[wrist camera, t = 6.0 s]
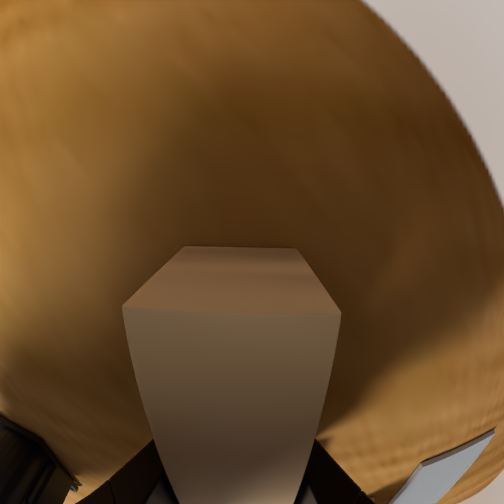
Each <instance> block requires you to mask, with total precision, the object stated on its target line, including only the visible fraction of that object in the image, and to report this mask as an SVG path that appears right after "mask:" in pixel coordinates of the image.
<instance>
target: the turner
mask: <svg viewBox="0 0 504 504" xmlns="http://www.w3.org/2000/svg"><path fill="white" fill-rule="evenodd" d="M122 313H123V319H124V325H125V330H126V336H127V341H128V346H129V351H130V355H131V360H132V364H133V369H134V373H135V377H136V381H137V385H138V389H139V393H140V396H141V400H142V404H143V407H144V410H145V414H146V417H147V420H148V424H149V427H150V430H151V433H152V436H153V439H154V442H155V445H156V447H157V450H158V453H159V456H160V458H161V461H162V464H163V466H164V469H165V471H166V474H167V476H168V479H169V481H170V483H171V486H172V488H173V490H174V492H175V495H176V497H177V499H178V501H179V503H180V504H293V503H294V501H295V498H296V495H297V493H298V490H299V487H300V484H301V481H302V478H303V475H304V472H305V469H306V466H307V463H308V460H309V456H310V453H311V450H312V446H313V443H314V439H315V436H316V432H317V429H318V425H319V421H320V417H321V413H322V409H323V405H324V401H325V397H326V393H327V388H328V384H329V379H330V375H331V370H332V365H333V360H334V355H335V350H336V344H337V339H338V333H339V327H340V321H341V314H342V313H341V311H340V310H339V308H338V307H337V305H336V304H335V303H334V301H333V300H332V298H331V297H330V295H329V294H328V292H327V291H326V289H325V288H324V286H323V285H322V284H321V282H320V281H319V279H318V278H317V276H316V275H315V273H314V272H313V271H312V269H311V268H310V266H309V265H308V263H307V262H306V261H305V259H304V258H303V256H302V255H301V254H300V252H299V251H298V249H297V248H253V247H205V246H184V247H183V248H182V249H181V250H180V251H179V252H177V253H176V254H175V255H174V256H173V257H172V258H171V259H170V260H169V261H168V262H167V263H166V264H165V265H164V266H163V267H161V268H160V269H159V270H158V271H157V272H156V273H155V274H154V275H153V276H152V277H151V278H150V279H149V280H148V281H147V282H146V283H145V284H144V285H143V286H142V287H141V288H140V289H139V290H138V291H136V292H135V293H134V294H133V295H132V296H131V297H130V298H129V299H128V300H127V301H126V302H125V303H124V304H123V305H122Z"/></svg>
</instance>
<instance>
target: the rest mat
mask: <svg viewBox="0 0 504 504" xmlns="http://www.w3.org/2000/svg"><path fill="white" fill-rule="evenodd" d="M494 434H495V432H494V431H493V430H492V431H490V432H488V433H486V434H484V435H483V436H481V437H479V438H477V439H475V440H473V441H471V442H469V443H467V444H465V445H463V446H461V447H458V448H456V449H454V450H452V451H449V452H447V453H445V454H442V455H440V456H437V457H435V458H432V459H430V460H427V461H424V462H422V463H420V464H419V466H418V467H417V468H416V470H415V471H414V472H413V474H412V475H411V476H410V478H409V479H408V480H407V482H406V483H405V484H404V485H403V487H402V488H401V489H400V490H399V491H398V493H397V494H396V495H395V496H394V497H393V498H392V499H391V501H390V502H389V503H388V504H435V503H436V502H437V501H438V500H439V499H440V498H441V497H442V496H443V495H444V494H445V493H446V492H447V491H448V490H449V489H450V488H451V487H452V486H453V485H454V484H455V483H456V482H457V481H458V480H459V479H460V477H461V476H462V475H463V474H464V473H465V472H466V471H467V469H468V468H469V467H470V466H471V465H472V463H473V462H474V461H475V460H476V459H477V457H478V456H479V455H480V453H481V452H482V451H483V449H484V448H485V447H486V445H487V444H488V443H489V441H490V440H491V439H492V437H493V436H494Z"/></svg>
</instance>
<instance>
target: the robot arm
mask: <svg viewBox="0 0 504 504" xmlns="http://www.w3.org/2000/svg"><path fill="white" fill-rule="evenodd" d="M78 489H79V488H78V486H77V485H76V484H75V483H74V482H73V480H72V479H71V478H70V477H69V475H68V474H67V473H66V472H65V470H64V469H63V468H62V467H61V465H60V464H59V463H58V461H57V460H56V459H55V457H54V456H53V454H52V453H51V452H50V450H49V449H48V447H47V446H46V444H45V443H44V442H43V441H42V440H41V439H40V438H39V437H37V436H35V435H33V434H31V433H29V432H27V431H25V430H23V429H22V428H20V427H18V426H16V425H14V424H12V423H11V422H9V421H7V420H5V419H4V418H2V417H0V504H63V502H64V500H65V498H66V496H67V494H68V492H69V490H72V491H74V492H77V491H78ZM76 504H180V503H179V501H178V499H177V497H176V495H175V492H174V490H173V488H172V486H171V483H170V481H169V479H168V476H167V474H166V471H165V469H164V466H163V464H162V461H161V458H160V456H159V453H158V450H157V447H156V445H155V442H154V439H152V440H151V441H150V442H149V443H148V444H147V445H146V446H145V447H144V448H143V449H142V450H141V451H140V452H139V453H137V454H136V455H135V456H134V457H133V458H132V459H131V460H130V461H129V462H128V463H126V464H125V465H124V466H123V467H122V468H121V469H120V470H119V471H117V472H116V473H115V474H114V475H113V476H112V477H111V478H109V480H107V481H106V482H105V483H103V484H102V485H101V486H100V487H99V488H97V489H96V490H95V491H94V492H92V493H91V494H90V495H88V496H87V497H85V498H84V499H82V500H80V501H79V502H77V503H76ZM293 504H376V503H375V502H374V501H372V500H371V499H370V498H369V497H368V496H367V495H366V493H365V492H364V491H361V488H360V487H359V486H358V485H357V484H356V483H355V482H354V481H353V480H352V479H351V478H350V477H349V476H348V475H347V473H346V472H345V471H344V470H343V469H342V468H341V467H340V466H339V465H338V464H337V462H336V461H335V460H334V459H333V458H332V457H331V456H330V455H329V453H328V452H327V451H326V450H325V449H324V448H323V447H322V445H321V444H320V443H319V442H318V441H317V440H316V438H315V439H314V443H313V446H312V450H311V453H310V456H309V460H308V463H307V466H306V469H305V472H304V475H303V478H302V481H301V484H300V487H299V490H298V493H297V495H296V498H295V501H294V503H293Z"/></svg>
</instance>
